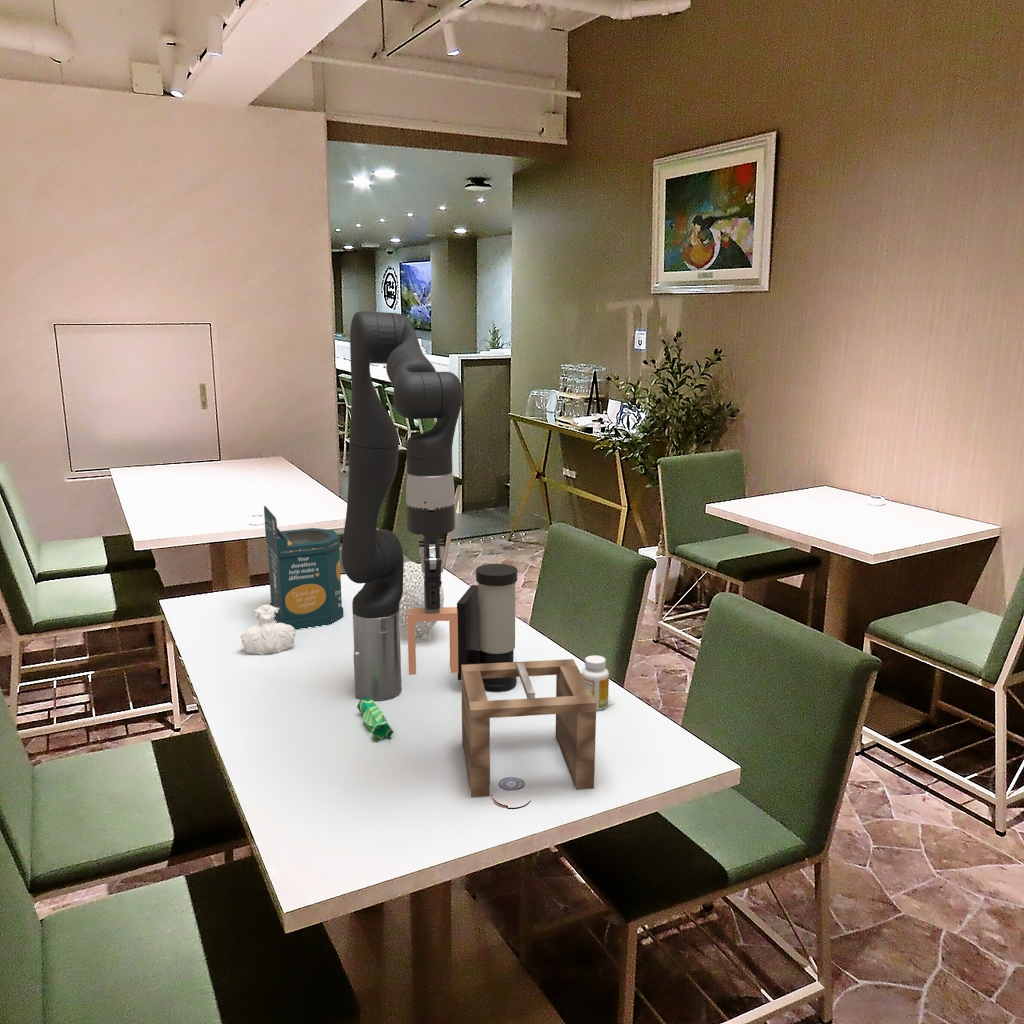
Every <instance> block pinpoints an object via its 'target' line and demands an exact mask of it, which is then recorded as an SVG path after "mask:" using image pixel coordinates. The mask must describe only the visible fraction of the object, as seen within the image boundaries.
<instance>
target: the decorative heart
mask: <svg viewBox="0 0 1024 1024" xmlns="http://www.w3.org/2000/svg"><path fill="white" fill-rule="evenodd" d="M424 580H425V579H424V574H423V573H422V570H421V564H419V563H416V562H414V561H406V562H404V571H403V594H402V598H401V600H400V603H399V618H400V626H402V627H403V629H404V630H405V631H406V632H407V633H408V627H407V609H416V608H425V606H424ZM443 588H444V587H443V584H441V587H440V608H443V607H444V603H445V595H444V594H445V593H444V589H443ZM437 622H438V621H425V622H415V638H418V637H422V640H423V641H425V635H426V633H427V635H428V638H427V639H428V641H427V642H428V643H431V630H432V628H433V627H434V626H435V625H436V624H437Z"/></svg>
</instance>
